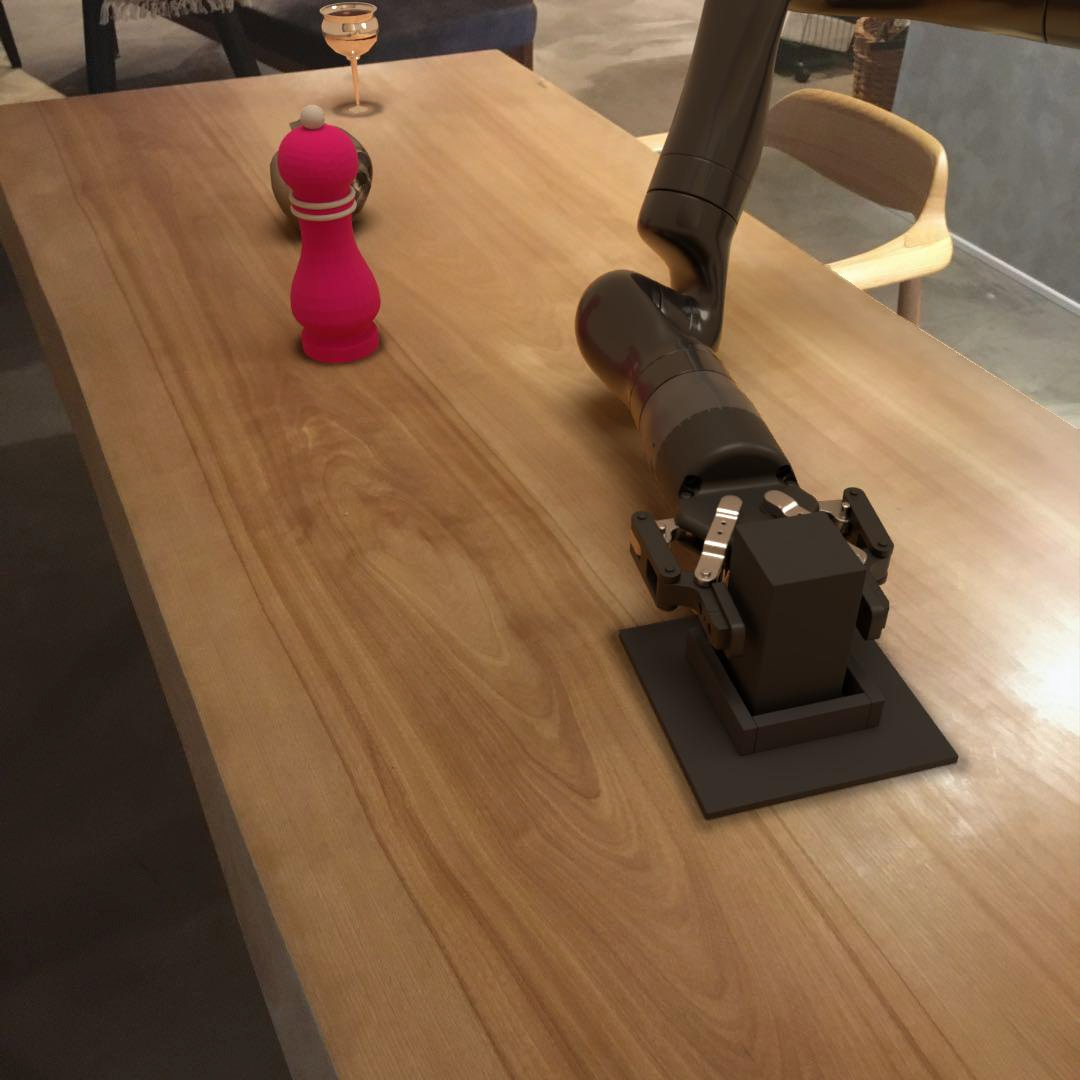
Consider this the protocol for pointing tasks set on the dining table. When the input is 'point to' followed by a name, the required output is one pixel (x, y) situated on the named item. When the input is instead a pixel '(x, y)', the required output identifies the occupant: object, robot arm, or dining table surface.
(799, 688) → the pad block
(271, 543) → the dining table surface
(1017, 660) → the dining table surface
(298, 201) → the pepper mill
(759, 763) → the base pad
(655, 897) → the dining table surface
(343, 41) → the wineglass
